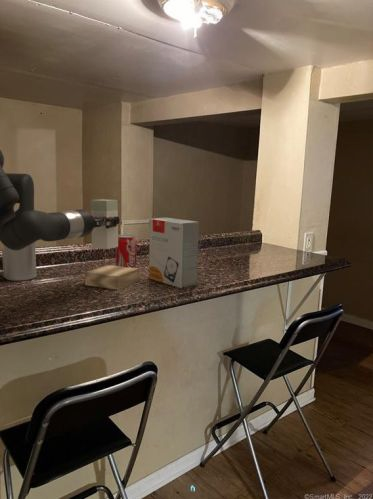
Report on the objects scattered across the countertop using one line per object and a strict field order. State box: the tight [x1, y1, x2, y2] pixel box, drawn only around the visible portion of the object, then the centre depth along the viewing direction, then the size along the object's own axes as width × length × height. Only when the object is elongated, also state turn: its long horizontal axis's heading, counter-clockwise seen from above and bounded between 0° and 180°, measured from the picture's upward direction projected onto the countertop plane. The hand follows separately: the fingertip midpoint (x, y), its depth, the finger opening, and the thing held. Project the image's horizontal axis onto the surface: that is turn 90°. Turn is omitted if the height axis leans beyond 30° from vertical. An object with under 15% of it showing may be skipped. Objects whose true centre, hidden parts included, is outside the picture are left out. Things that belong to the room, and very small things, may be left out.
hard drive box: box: [148, 217, 200, 289], centre depth 124 cm, size 16×8×20 cm, turn 45°
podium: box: [84, 264, 140, 291], centre depth 122 cm, size 12×12×4 cm
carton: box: [90, 198, 119, 250], centre depth 116 cm, size 6×6×14 cm
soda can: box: [115, 234, 138, 269], centre depth 136 cm, size 7×7×13 cm
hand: (109, 219), depth 118 cm, fingers closed on carton, 5 cm apart
